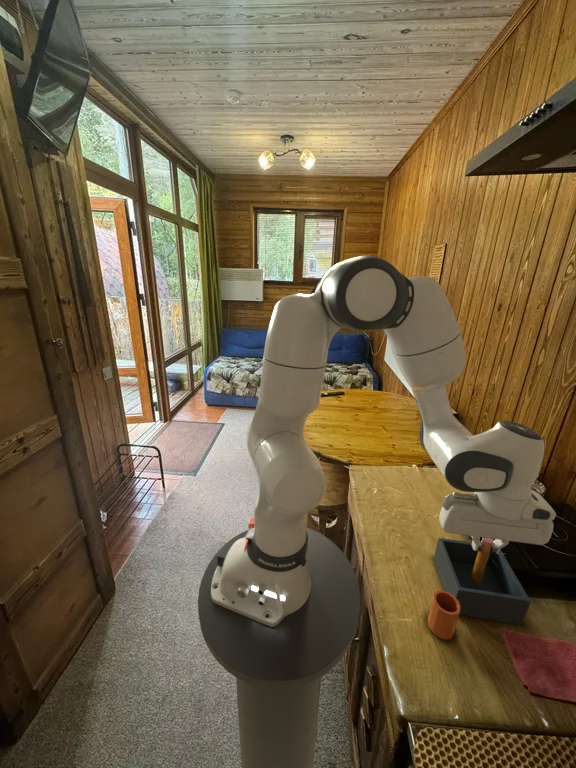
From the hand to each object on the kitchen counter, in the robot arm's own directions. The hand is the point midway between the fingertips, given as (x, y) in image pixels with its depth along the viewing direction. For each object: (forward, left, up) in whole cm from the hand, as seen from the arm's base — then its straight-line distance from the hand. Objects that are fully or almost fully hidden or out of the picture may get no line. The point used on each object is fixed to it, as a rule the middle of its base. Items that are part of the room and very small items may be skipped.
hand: (484, 549), depth 67 cm
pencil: (0, 0, -9) cm, 9 cm away
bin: (0, 0, -12) cm, 12 cm away
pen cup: (-10, -10, -12) cm, 18 cm away
